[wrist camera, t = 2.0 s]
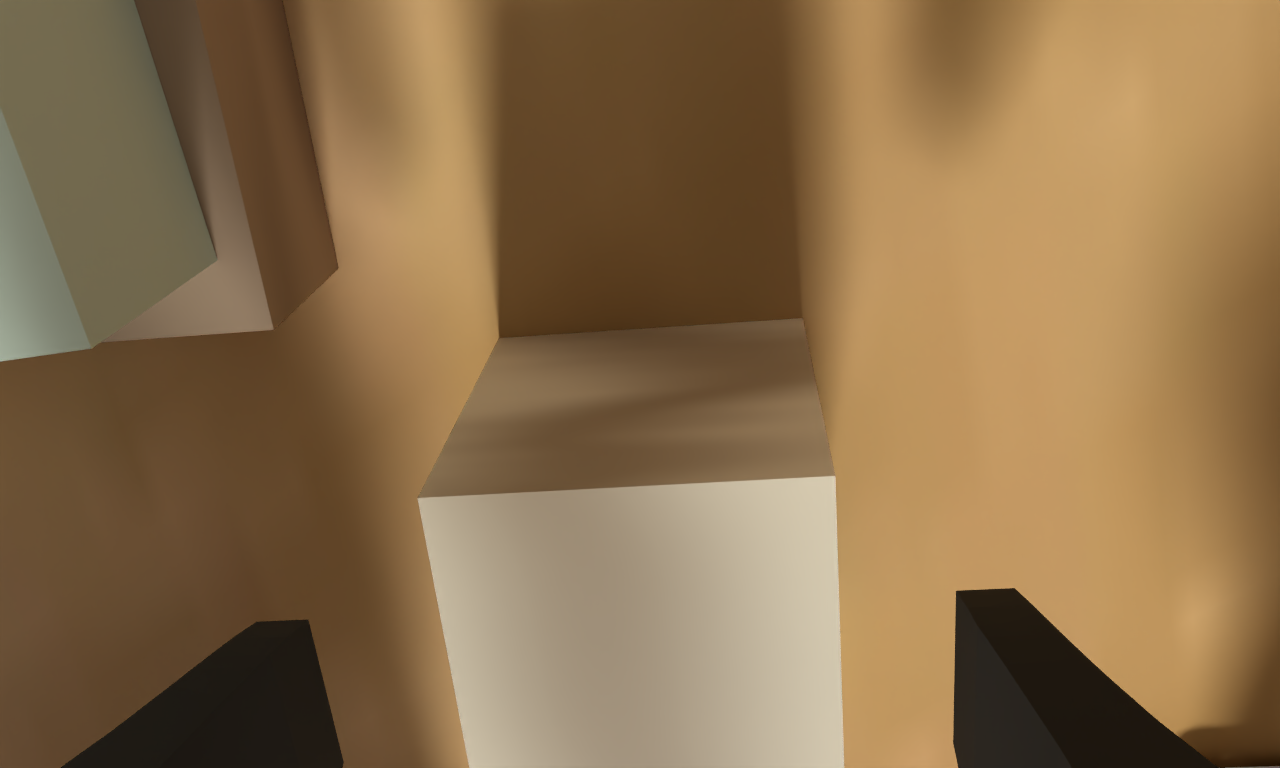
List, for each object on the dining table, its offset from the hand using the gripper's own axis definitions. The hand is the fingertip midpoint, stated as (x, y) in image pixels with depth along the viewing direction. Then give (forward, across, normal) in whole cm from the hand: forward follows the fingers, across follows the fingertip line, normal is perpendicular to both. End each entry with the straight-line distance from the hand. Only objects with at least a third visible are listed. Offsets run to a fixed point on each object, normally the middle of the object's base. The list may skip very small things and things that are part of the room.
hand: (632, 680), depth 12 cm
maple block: (+5, 0, 0) cm, 5 cm away
